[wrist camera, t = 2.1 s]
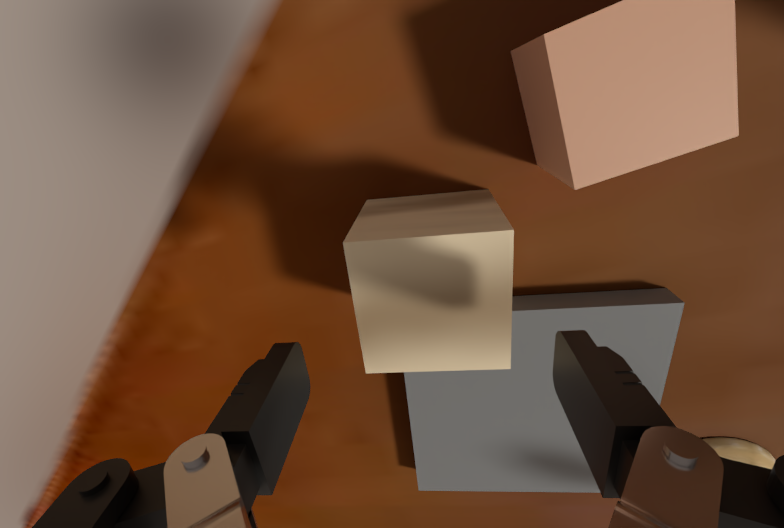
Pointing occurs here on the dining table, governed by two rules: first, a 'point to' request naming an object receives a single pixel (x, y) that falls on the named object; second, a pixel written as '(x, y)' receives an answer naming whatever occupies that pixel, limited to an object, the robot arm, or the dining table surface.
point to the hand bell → (741, 451)
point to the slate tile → (532, 395)
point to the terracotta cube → (630, 87)
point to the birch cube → (432, 282)
